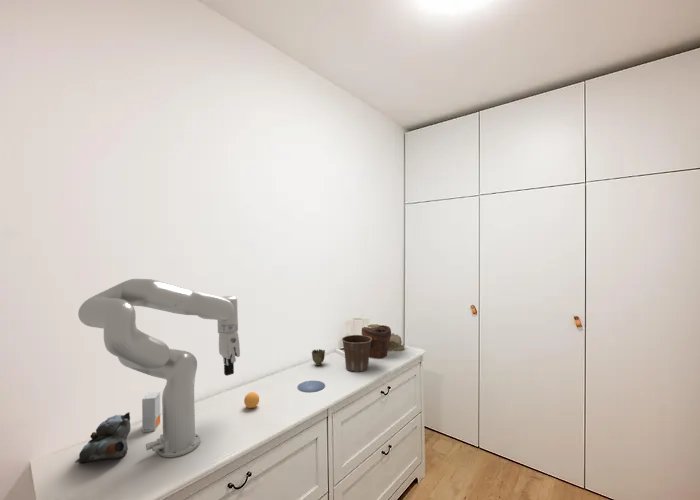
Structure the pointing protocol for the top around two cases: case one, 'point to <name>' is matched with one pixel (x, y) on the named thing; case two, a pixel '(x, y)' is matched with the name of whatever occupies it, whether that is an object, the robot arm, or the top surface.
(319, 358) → the cup
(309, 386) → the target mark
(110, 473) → the top surface
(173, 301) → the robot arm
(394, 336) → the ceramic model
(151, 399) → the skincare box
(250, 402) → the ball
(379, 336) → the brown lidded basket
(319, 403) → the top surface
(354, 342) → the plant pot
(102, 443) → the lucky cat figurine
